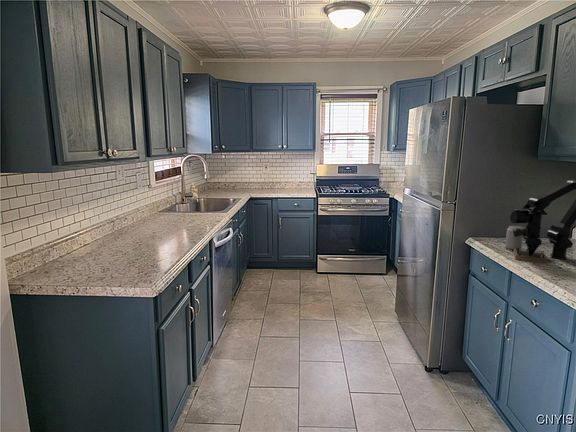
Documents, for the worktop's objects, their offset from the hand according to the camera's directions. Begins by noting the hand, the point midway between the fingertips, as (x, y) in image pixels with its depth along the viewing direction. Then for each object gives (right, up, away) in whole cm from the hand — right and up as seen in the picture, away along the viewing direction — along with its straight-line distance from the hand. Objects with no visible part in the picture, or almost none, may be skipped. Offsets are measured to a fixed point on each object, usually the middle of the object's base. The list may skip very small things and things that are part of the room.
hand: (529, 254), depth 182 cm
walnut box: (0, -2, 0) cm, 2 cm away
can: (+1, +1, +15) cm, 15 cm away
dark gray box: (0, -2, 0) cm, 2 cm away
